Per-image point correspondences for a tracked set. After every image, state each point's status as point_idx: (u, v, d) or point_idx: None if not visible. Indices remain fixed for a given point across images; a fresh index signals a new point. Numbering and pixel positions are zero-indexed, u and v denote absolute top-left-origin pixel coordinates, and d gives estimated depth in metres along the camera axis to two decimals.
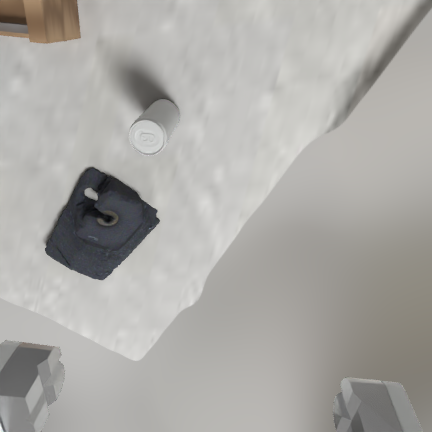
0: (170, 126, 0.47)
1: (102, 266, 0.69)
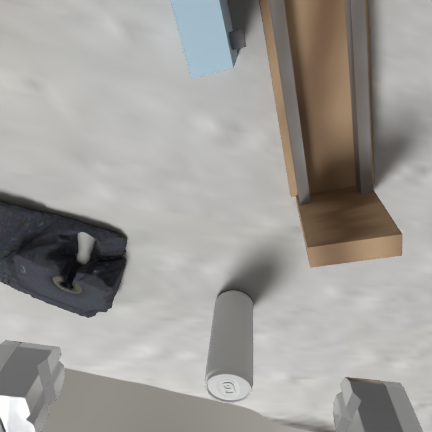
0: None
1: None
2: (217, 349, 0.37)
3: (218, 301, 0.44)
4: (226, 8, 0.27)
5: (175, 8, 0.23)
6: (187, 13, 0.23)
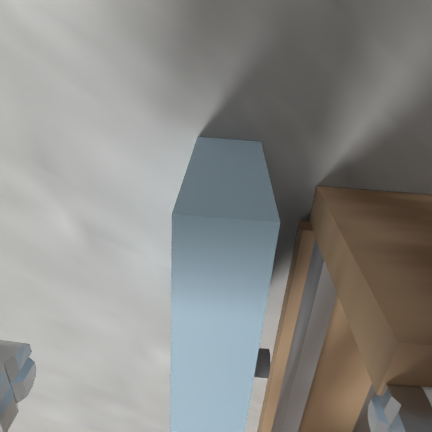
0: None
1: None
2: None
3: None
4: None
5: (176, 358, 0.13)
6: (194, 368, 0.13)
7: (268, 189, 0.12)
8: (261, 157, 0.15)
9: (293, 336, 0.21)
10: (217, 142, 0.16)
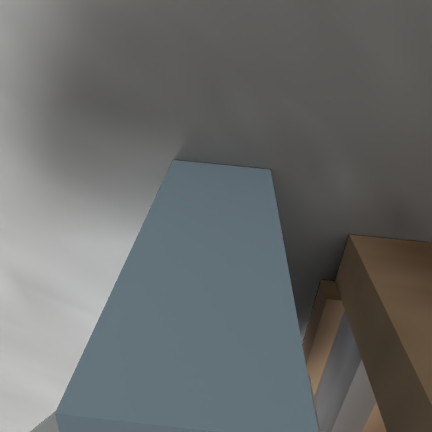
0: None
1: None
2: None
3: None
4: None
5: None
6: None
7: (286, 300, 0.06)
8: (271, 206, 0.09)
9: None
10: (202, 173, 0.10)
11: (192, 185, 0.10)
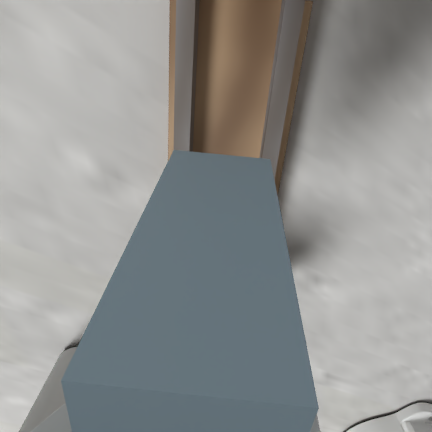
0: None
1: None
2: None
3: (60, 358, 0.36)
4: None
5: None
6: None
7: (285, 279, 0.06)
8: (271, 193, 0.09)
9: None
10: (202, 162, 0.10)
11: (193, 173, 0.10)
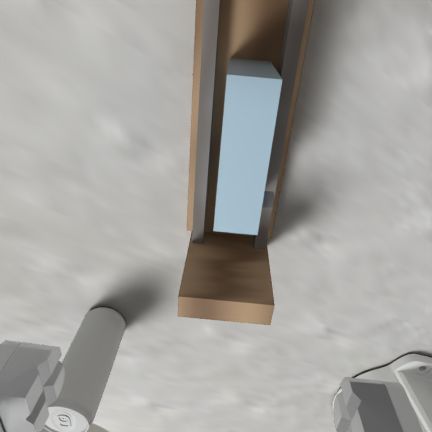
0: None
1: None
2: None
3: (87, 317, 0.40)
4: None
5: (221, 172, 0.22)
6: (231, 180, 0.22)
7: (276, 73, 0.21)
8: (271, 65, 0.24)
9: None
10: (243, 60, 0.26)
11: (240, 61, 0.25)
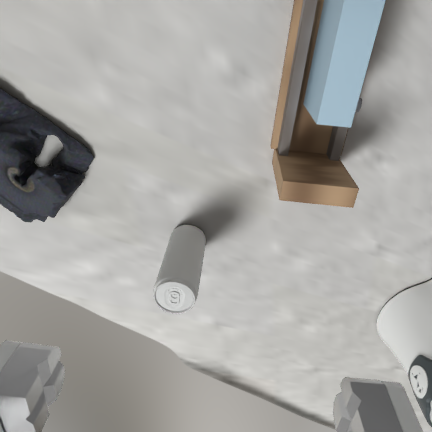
0: None
1: None
2: (171, 263, 0.40)
3: (176, 231, 0.47)
4: None
5: (330, 72, 0.29)
6: (337, 78, 0.30)
7: None
8: None
9: (299, 20, 0.34)
10: None
11: None
